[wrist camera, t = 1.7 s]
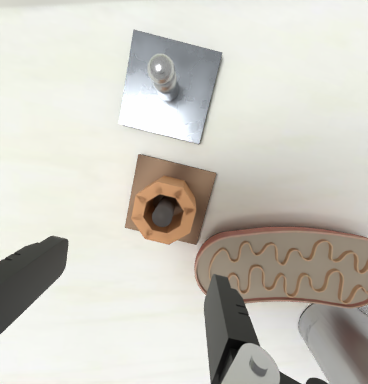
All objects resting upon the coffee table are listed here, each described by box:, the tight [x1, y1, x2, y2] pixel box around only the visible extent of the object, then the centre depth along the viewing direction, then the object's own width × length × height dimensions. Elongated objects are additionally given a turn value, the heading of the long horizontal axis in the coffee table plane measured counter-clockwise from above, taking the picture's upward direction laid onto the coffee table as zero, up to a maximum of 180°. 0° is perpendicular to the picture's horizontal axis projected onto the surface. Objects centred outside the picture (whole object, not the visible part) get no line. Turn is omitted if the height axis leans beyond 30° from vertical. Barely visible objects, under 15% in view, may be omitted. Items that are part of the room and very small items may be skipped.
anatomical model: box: [195, 227, 368, 309], centre depth 24 cm, size 23×10×5 cm, turn 90°
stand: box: [125, 154, 216, 245], centre depth 22 cm, size 10×10×7 cm
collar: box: [131, 176, 196, 244], centre depth 22 cm, size 6×6×5 cm
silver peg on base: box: [119, 30, 222, 144], centre depth 19 cm, size 10×10×7 cm
